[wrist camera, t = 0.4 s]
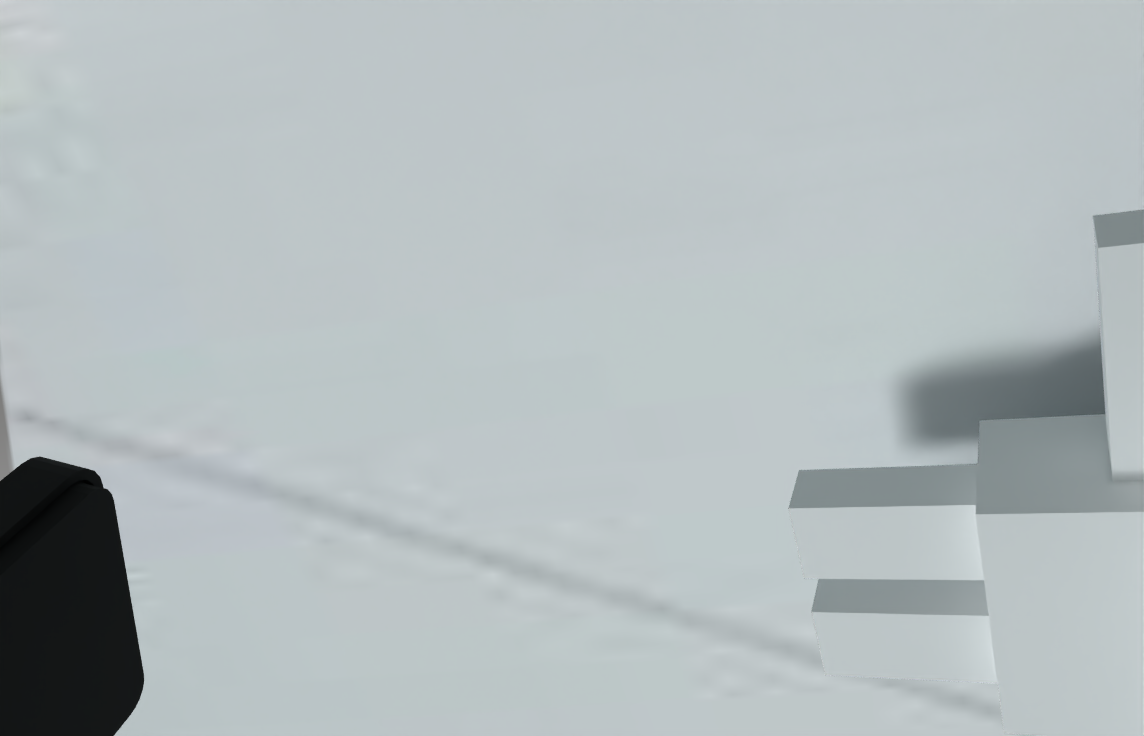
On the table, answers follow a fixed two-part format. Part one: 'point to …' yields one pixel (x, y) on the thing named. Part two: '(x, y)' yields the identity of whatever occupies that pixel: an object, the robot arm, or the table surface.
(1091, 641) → the blocky voxel creature
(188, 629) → the table surface
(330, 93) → the table surface
